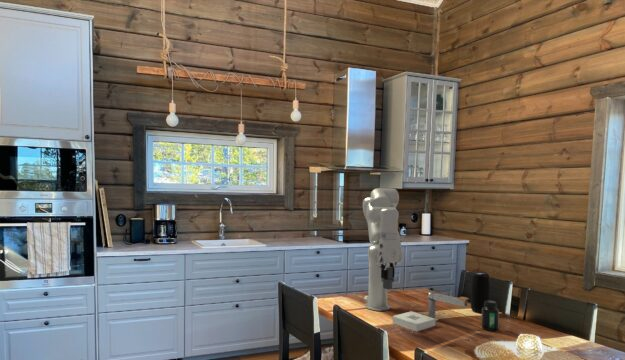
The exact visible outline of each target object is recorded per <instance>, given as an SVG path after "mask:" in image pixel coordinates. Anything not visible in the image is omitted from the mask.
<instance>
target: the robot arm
mask: <svg viewBox="0 0 625 360" xmlns="http://www.w3.org/2000/svg"><path fill="white" fill-rule="evenodd" d="M399 200H400V195H399V192H398V190H397V189H395V188H390V187H389V188H388V187H387V188H385V187H384V188H383V187H378V188H377V187H376V188H374V189H373V190H372V191H371V192H370V195H369V197H368V196H367V197H366V198H364V199H363V200H362V212H363V215H364V218H365V220H366V222H367V229H368V230H367V232H368V239H369V242H370V244H371V245H370V246H369V247H368V249H367V259H368V293H367V294H368V295H367V294H366V295H365V296H364V297H363V300H364V301H366V302H365V303H364V307H365V308H366V309H368V310H371V311H378V312H380V311H381V312H384V311H389V310H390V309H391V305H390V304H388V289H384V288H383V281H381V278H383V279H387V278H388V270H387V267H392V268H393V278H394V279H395V271H396V270H395V269H396V266H397V265H400V264H401V263H402V262H403V257H404V255H403V254H404V253H403V248H402V241H401V236H400V232H399V231H398V225H399V222H398V220H399V217H400V215H399V214H400V213H399V211H398V210H397V206H398V204H399Z"/></svg>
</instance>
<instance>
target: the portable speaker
mask: <svg viewBox="0 0 625 360" xmlns="http://www.w3.org/2000/svg"><path fill="white" fill-rule="evenodd" d="M490 288H491V287H490V277H489V273H487V271H482V270H479V271H474V270H473V271H472V272H471V279H470V294H469V296H470V297H469V300H470V308H471V311H472V312H474V313H476V314H480V313H482V308H483V307H484V306H485V305H484V304H485V300H490V294H491V293H490Z"/></svg>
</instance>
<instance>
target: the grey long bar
mask: <svg viewBox="0 0 625 360" xmlns="http://www.w3.org/2000/svg"><path fill="white" fill-rule="evenodd" d="M427 294H428V296H427V298H428V300H429V299H434V300H436V301H439V302H443V303H447V304H452V305H456V306H460V307H467V306H468V301H469V300H470V297H467V296H459V297H457V296H456V297H455V296H452V295H447V294H442V293H439V292H435V291H428V292H427Z"/></svg>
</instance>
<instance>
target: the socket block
mask: <svg viewBox="0 0 625 360" xmlns="http://www.w3.org/2000/svg"><path fill="white" fill-rule="evenodd" d="M436 301H437V300H434V299H429V298H428V312H427V313H428V316H427V315H424V314H422V313H418V312H416V311H412V310H410V311H408V312H404V313H399V314H394V315H393V316H392V324H393V325H397V326H399V327H402V328H406V329H408V330H411V331H414V332H420V331H423V330H427V329H430V328H432V327H436V322H437V321H439V319H437V318H436Z"/></svg>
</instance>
